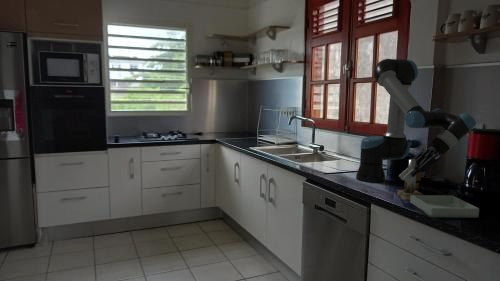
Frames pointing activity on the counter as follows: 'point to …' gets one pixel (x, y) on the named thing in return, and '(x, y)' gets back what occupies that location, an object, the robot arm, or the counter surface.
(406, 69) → the robot arm
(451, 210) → the tray
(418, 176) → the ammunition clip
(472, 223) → the counter surface
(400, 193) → the pin dock
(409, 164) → the lock pin
